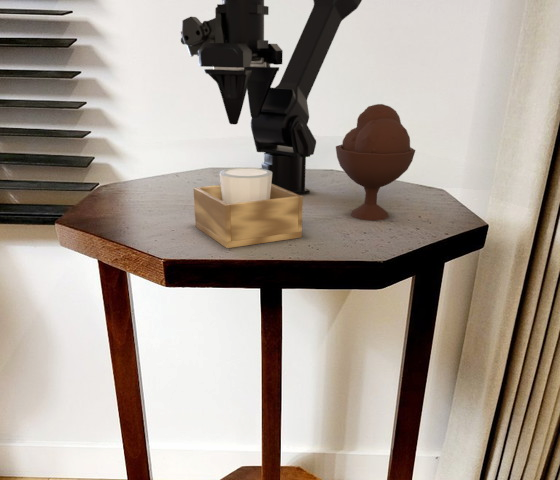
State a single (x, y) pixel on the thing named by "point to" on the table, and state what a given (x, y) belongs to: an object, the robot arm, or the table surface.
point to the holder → (248, 217)
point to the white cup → (245, 184)
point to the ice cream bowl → (375, 156)
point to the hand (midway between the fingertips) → (244, 120)
